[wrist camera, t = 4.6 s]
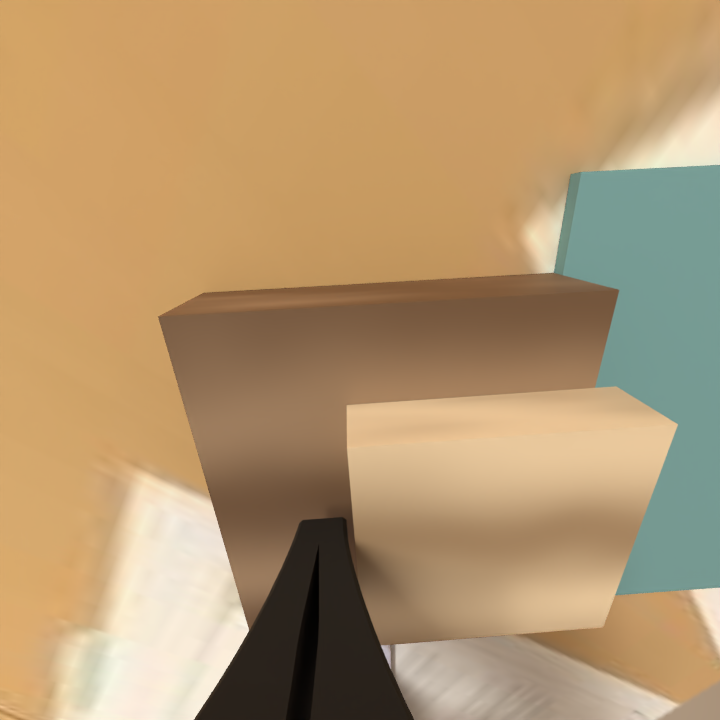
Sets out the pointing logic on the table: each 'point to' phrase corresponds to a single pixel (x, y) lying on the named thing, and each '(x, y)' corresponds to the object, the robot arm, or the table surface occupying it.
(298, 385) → the brown wooden slab
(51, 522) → the table surface
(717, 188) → the mat
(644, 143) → the table surface
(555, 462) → the coaster
